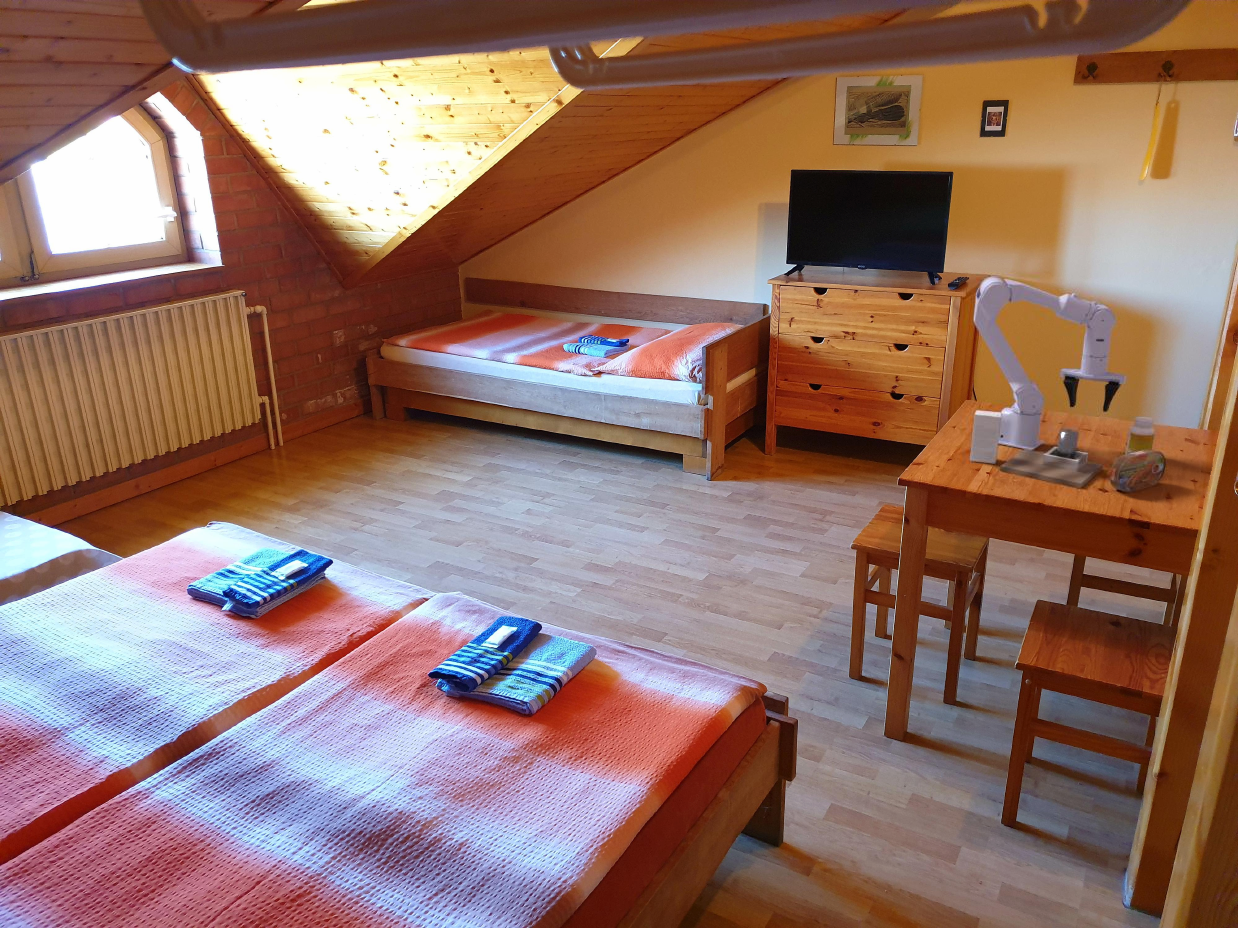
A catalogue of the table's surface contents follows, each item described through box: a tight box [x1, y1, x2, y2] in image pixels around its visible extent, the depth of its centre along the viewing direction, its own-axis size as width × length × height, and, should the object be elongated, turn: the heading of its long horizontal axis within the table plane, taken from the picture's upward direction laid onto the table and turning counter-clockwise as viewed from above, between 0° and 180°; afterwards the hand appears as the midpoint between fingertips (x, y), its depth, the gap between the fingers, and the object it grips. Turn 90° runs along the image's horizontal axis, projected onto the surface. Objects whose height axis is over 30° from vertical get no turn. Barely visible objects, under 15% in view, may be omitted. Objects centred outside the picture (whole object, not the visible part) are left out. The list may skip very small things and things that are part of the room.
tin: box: [1109, 449, 1167, 493], centre depth 204 cm, size 15×3×8 cm, turn 114°
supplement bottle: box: [1124, 416, 1156, 455], centre depth 223 cm, size 5×5×10 cm
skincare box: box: [969, 409, 1002, 465], centre depth 222 cm, size 6×4×12 cm
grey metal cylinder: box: [1056, 428, 1080, 460], centre depth 216 cm, size 4×4×8 cm
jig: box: [999, 446, 1103, 489], centre depth 216 cm, size 18×16×4 cm
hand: (1088, 408), depth 228 cm, fingers open, 7 cm apart
